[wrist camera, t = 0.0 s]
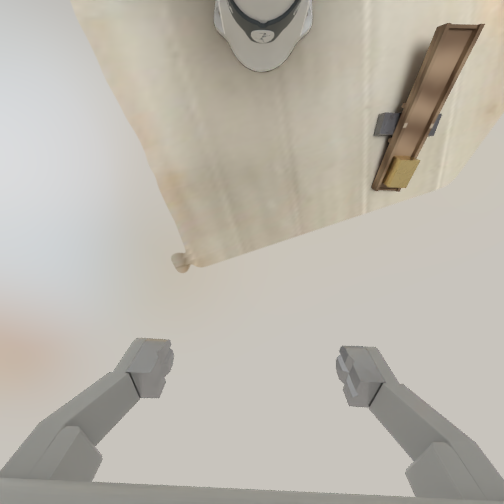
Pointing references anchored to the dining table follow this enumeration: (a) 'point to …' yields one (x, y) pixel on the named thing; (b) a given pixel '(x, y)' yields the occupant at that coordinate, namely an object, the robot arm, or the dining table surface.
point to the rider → (400, 171)
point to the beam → (429, 92)
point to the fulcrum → (395, 124)
